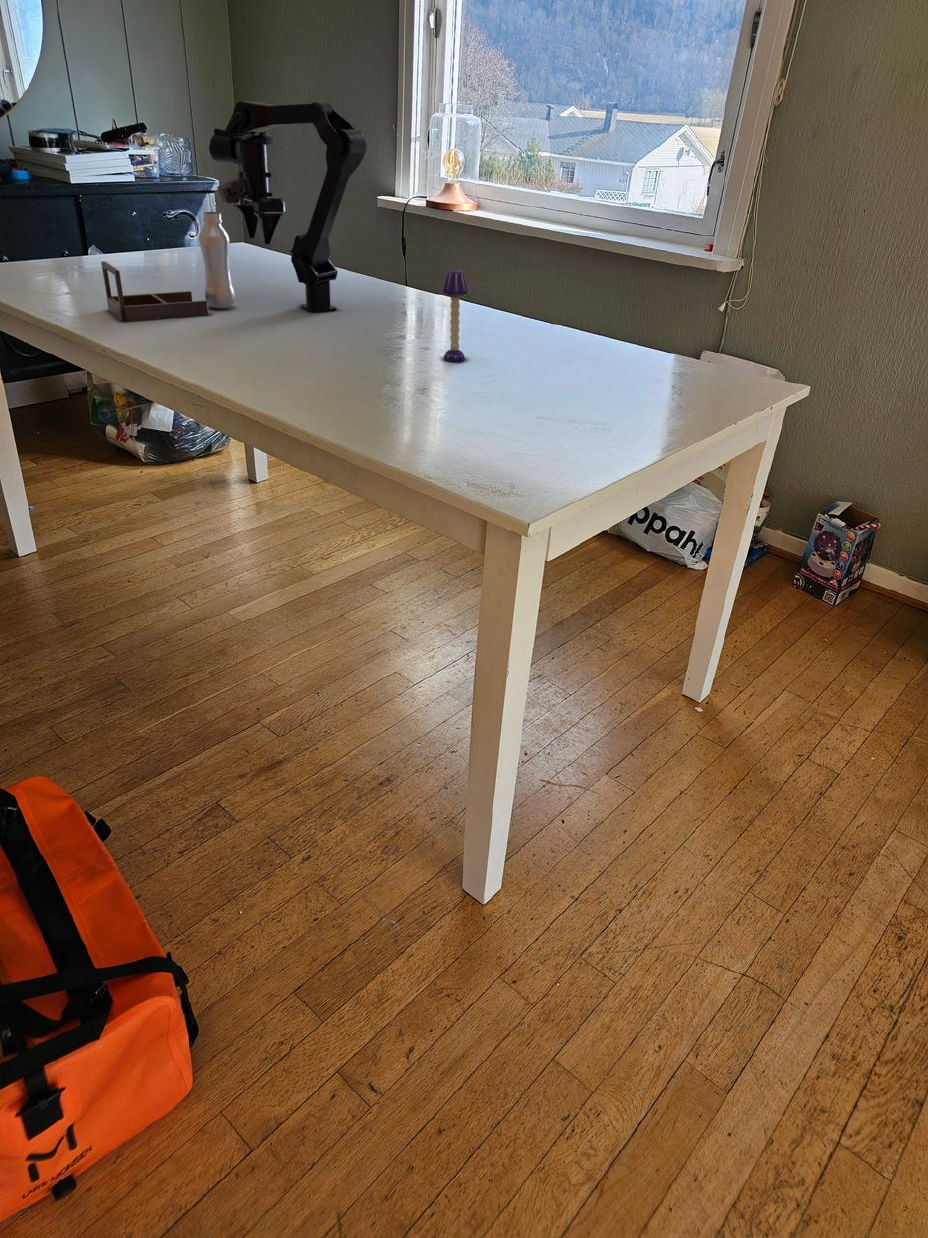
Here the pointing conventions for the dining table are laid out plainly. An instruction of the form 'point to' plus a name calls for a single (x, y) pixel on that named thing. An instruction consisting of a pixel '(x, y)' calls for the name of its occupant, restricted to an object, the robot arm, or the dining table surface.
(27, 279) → the dining table surface
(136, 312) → the wooden divided caddy
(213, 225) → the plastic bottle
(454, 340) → the toy lamp
